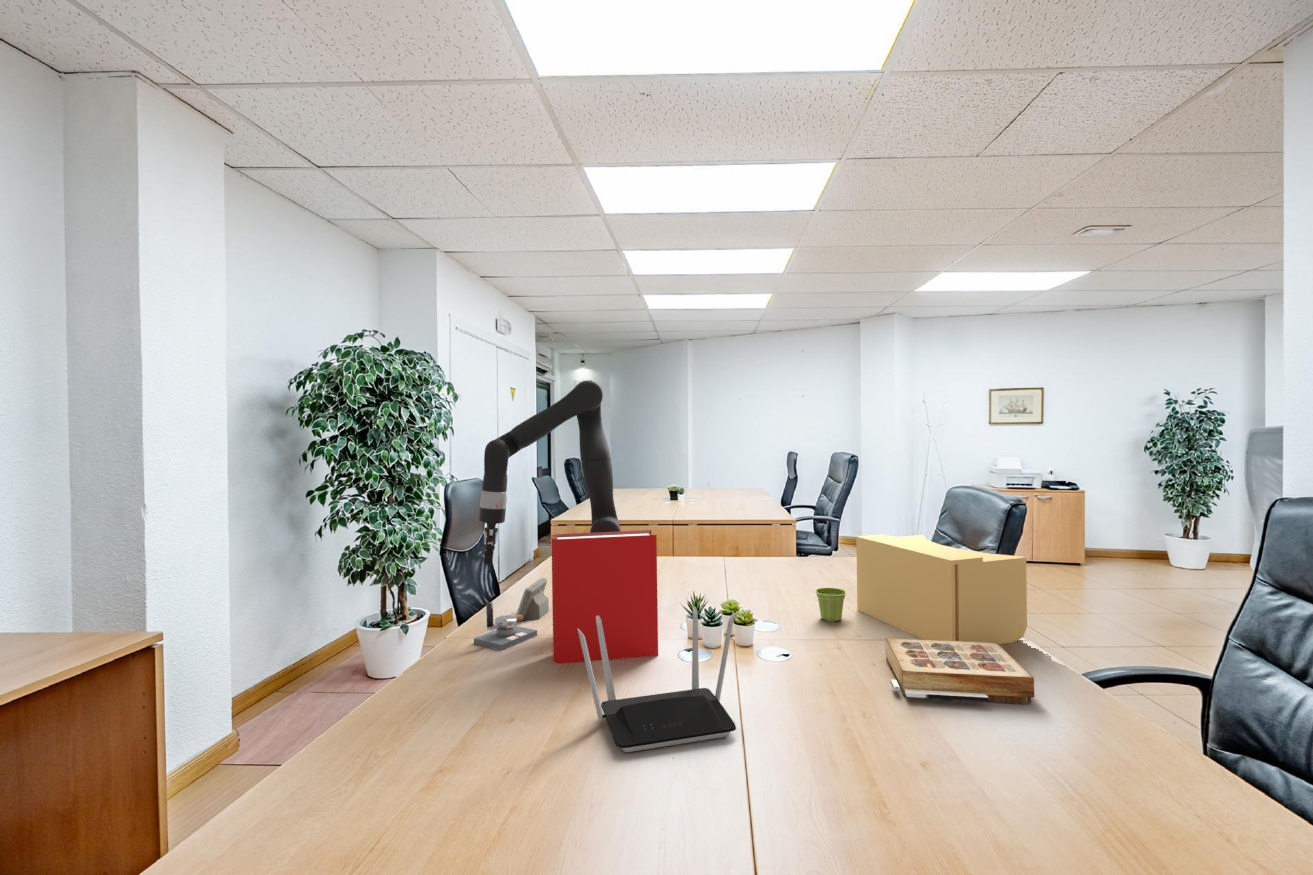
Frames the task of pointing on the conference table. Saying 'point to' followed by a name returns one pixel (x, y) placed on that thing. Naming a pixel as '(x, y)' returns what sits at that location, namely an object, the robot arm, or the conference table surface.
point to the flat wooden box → (957, 671)
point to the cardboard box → (941, 589)
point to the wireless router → (662, 705)
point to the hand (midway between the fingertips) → (488, 560)
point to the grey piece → (500, 619)
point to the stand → (505, 637)
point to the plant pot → (831, 603)
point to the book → (604, 594)
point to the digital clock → (534, 601)
